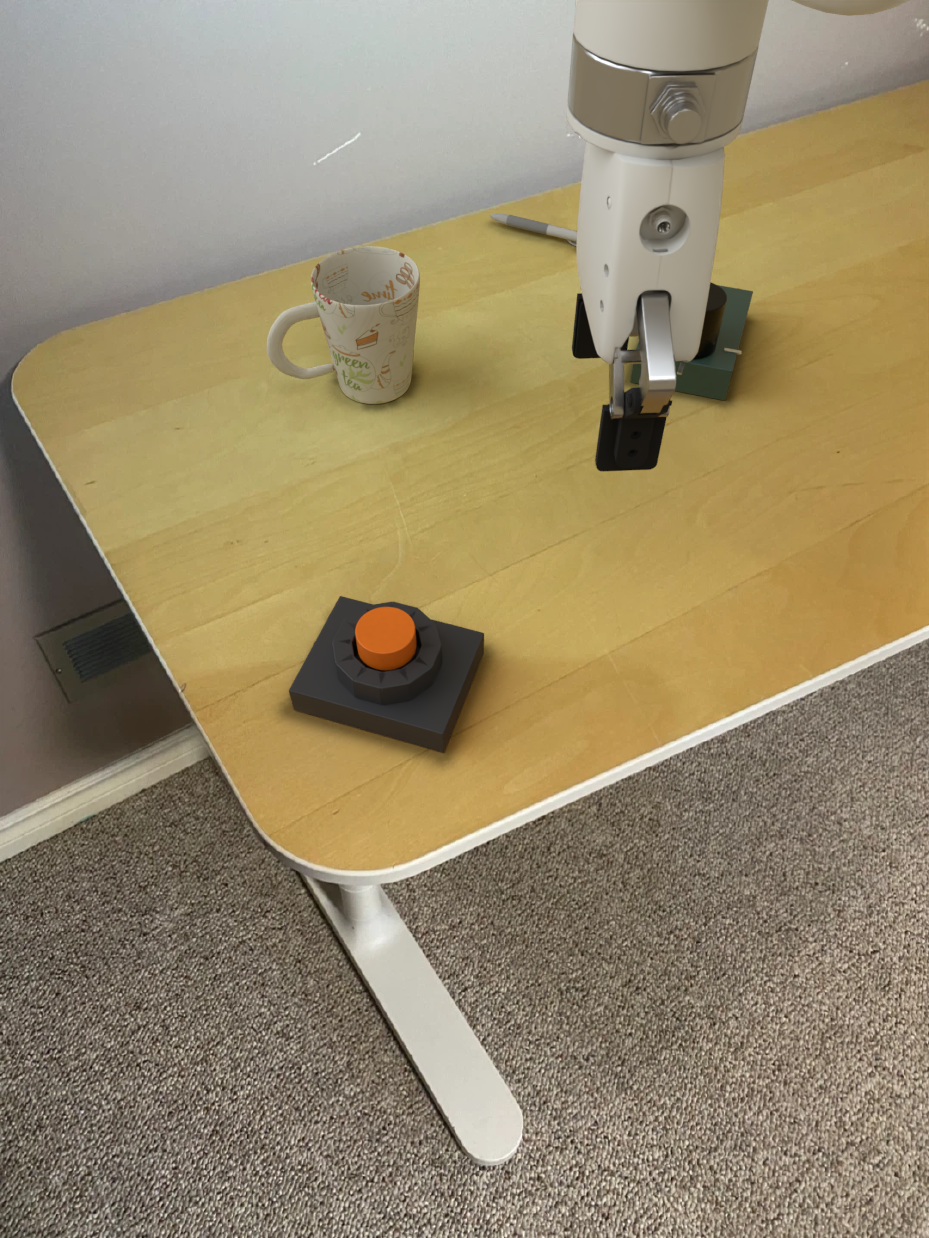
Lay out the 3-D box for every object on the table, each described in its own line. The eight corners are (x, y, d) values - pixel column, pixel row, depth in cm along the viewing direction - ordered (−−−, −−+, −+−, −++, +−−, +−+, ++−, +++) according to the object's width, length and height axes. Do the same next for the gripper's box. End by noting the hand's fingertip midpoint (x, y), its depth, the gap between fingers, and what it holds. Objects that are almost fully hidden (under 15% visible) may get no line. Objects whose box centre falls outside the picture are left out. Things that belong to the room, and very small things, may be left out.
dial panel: (654, 304, 88) (659, 273, 86) (749, 321, 86) (757, 289, 84) (621, 394, 80) (626, 362, 77) (725, 415, 78) (733, 383, 76)
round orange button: (424, 632, 59) (423, 614, 58) (404, 677, 57) (402, 659, 56) (370, 618, 60) (368, 600, 59) (348, 662, 58) (345, 644, 57)
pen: (618, 258, 93) (620, 245, 92) (487, 226, 97) (487, 213, 96) (622, 253, 93) (623, 240, 92) (491, 221, 97) (492, 208, 96)
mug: (439, 399, 79) (435, 291, 72) (291, 437, 77) (271, 329, 69) (405, 344, 84) (398, 237, 77) (265, 377, 81) (244, 270, 74)
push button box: (484, 653, 63) (484, 614, 60) (444, 753, 58) (442, 717, 55) (343, 616, 65) (336, 577, 62) (293, 710, 60) (283, 673, 57)
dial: (667, 323, 81) (676, 272, 77) (719, 333, 80) (732, 281, 76) (657, 353, 78) (666, 301, 74) (711, 364, 77) (723, 311, 74)
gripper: (803, 181, 35) (710, 514, 48) (703, 4, 46) (650, 316, 59) (599, 187, 35) (562, 521, 48) (547, 8, 46) (529, 320, 59)
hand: (611, 408), depth 54 cm, fingers open, 9 cm apart
